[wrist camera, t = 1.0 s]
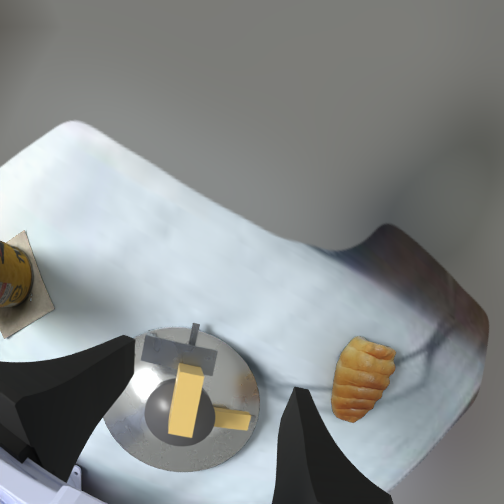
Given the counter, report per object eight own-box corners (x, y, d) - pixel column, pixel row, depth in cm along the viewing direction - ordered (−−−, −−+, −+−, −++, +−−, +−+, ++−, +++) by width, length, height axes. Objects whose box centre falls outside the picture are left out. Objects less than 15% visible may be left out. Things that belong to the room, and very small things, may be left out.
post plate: (239, 474, 26) (247, 490, 23) (96, 448, 23) (88, 463, 20) (273, 338, 29) (284, 343, 26) (116, 302, 26) (108, 303, 23)
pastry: (362, 420, 30) (381, 430, 27) (314, 413, 29) (330, 425, 25) (388, 345, 32) (409, 349, 28) (343, 331, 31) (362, 334, 27)
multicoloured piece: (240, 445, 25) (252, 470, 20) (142, 429, 23) (137, 454, 18) (257, 372, 27) (274, 387, 22) (155, 352, 25) (150, 365, 20)
